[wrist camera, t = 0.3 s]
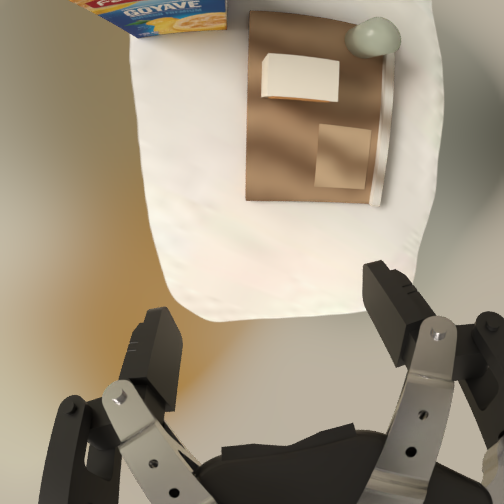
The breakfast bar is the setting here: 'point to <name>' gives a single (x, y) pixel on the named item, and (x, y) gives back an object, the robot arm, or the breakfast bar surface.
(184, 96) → the breakfast bar surface
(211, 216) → the breakfast bar surface
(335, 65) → the cream block
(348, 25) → the board
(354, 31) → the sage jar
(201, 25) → the beverage box
